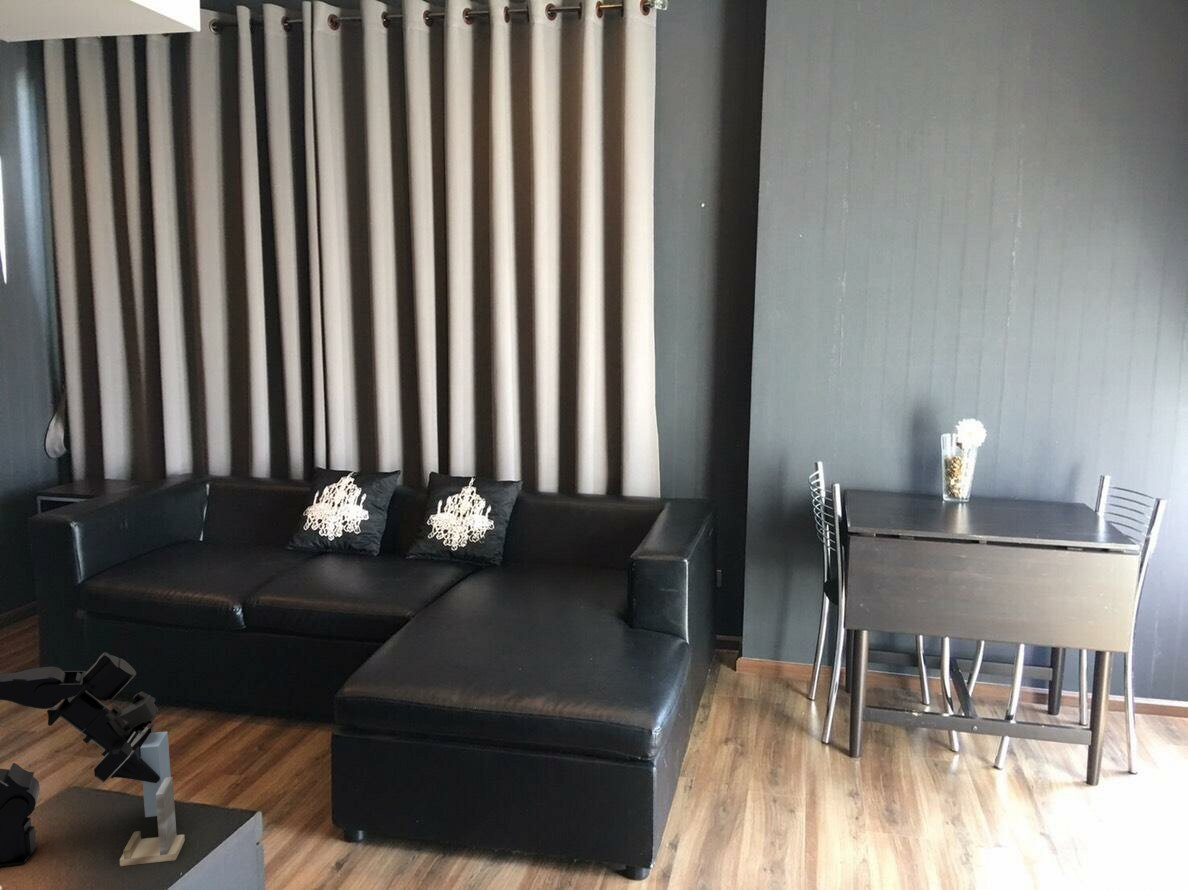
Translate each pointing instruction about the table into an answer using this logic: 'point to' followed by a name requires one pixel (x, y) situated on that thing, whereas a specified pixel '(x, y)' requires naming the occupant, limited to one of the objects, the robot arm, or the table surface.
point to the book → (155, 767)
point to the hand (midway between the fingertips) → (163, 772)
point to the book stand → (167, 841)
